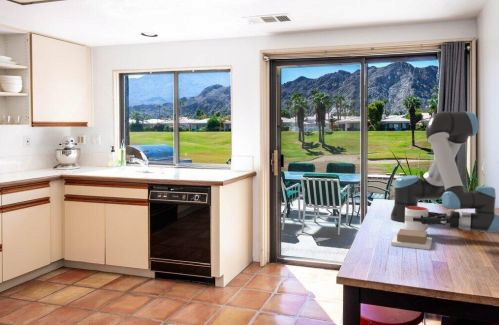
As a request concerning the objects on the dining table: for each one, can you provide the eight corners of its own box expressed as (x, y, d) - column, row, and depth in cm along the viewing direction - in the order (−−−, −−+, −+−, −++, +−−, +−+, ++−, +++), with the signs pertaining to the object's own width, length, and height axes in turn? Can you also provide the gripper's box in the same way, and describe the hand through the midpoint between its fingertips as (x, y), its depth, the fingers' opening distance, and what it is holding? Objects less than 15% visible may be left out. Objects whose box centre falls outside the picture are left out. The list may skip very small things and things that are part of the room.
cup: (431, 229, 205) (431, 208, 204) (422, 233, 197) (423, 211, 196) (410, 226, 211) (410, 205, 210) (400, 229, 204) (401, 208, 203)
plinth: (395, 237, 198) (396, 227, 198) (432, 240, 192) (432, 230, 191) (391, 245, 185) (391, 234, 184) (429, 249, 178) (430, 238, 178)
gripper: (459, 234, 186) (403, 229, 196) (459, 223, 206) (409, 219, 216) (459, 216, 186) (404, 212, 195) (460, 207, 206) (409, 203, 215)
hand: (406, 215), depth 206 cm, fingers closed on cup, 10 cm apart
